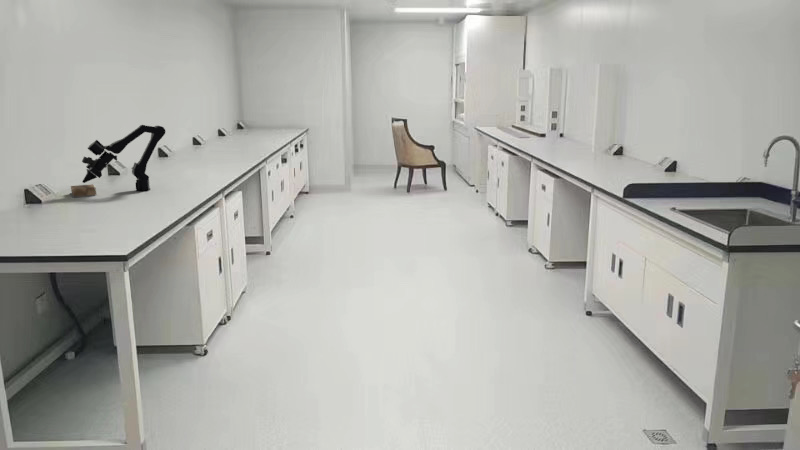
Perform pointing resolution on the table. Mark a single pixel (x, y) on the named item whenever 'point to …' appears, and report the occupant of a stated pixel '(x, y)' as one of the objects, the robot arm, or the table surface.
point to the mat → (80, 196)
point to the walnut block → (83, 190)
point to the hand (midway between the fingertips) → (82, 182)
